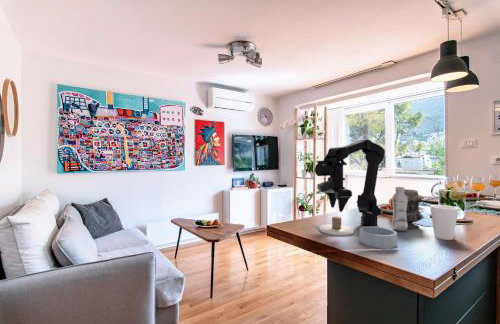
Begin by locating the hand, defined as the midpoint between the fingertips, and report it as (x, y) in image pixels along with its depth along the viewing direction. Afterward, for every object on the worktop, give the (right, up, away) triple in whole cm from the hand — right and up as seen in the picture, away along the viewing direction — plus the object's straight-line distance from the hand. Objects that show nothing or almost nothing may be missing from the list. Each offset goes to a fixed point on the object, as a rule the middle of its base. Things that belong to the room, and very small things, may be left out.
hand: (336, 209), depth 116 cm
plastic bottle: (+30, -10, +2) cm, 32 cm away
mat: (0, -10, 0) cm, 10 cm away
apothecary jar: (+37, -10, +9) cm, 40 cm away
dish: (+11, -11, -15) cm, 22 cm away
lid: (0, -10, 0) cm, 10 cm away
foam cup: (+43, -11, -8) cm, 45 cm away
